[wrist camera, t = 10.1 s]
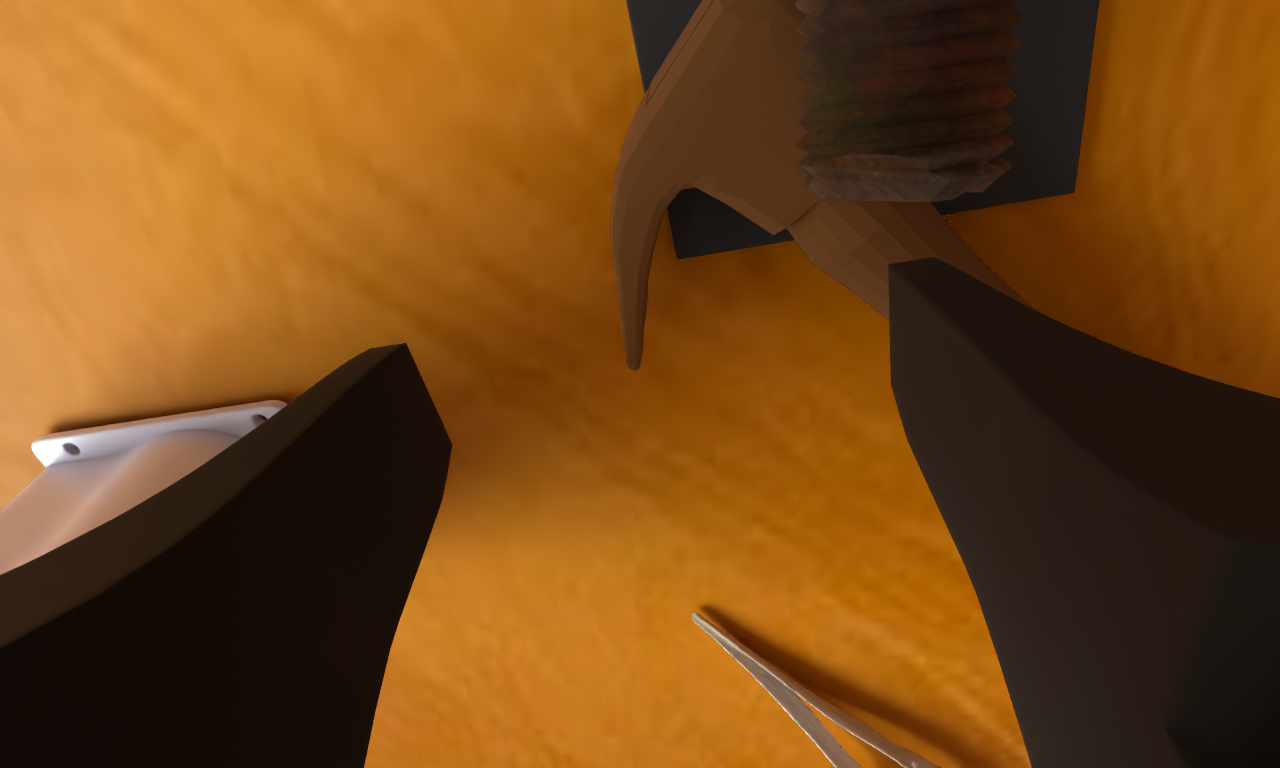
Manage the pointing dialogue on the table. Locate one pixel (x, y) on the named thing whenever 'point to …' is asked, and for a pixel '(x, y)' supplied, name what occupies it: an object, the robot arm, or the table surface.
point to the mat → (1042, 133)
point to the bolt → (905, 97)
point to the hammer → (754, 164)
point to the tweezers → (787, 697)
